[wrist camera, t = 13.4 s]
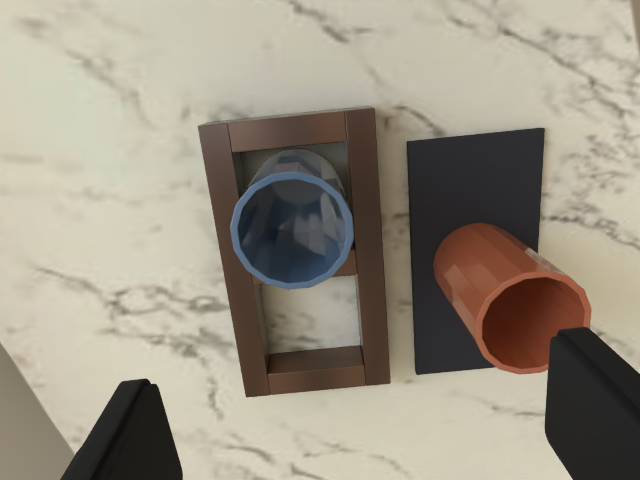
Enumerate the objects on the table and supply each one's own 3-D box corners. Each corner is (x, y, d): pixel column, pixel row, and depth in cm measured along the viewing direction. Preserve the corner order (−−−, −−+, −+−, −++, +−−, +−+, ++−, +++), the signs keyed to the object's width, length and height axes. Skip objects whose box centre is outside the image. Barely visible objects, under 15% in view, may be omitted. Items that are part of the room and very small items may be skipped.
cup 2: (432, 226, 36) (476, 277, 26) (519, 218, 35) (596, 265, 26) (433, 305, 38) (475, 379, 28) (516, 297, 38) (585, 368, 28)
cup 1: (246, 153, 34) (221, 179, 25) (337, 144, 34) (348, 166, 24) (259, 240, 36) (241, 294, 27) (345, 231, 36) (357, 283, 27)
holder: (250, 375, 40) (245, 397, 37) (207, 122, 33) (197, 125, 30) (385, 362, 40) (390, 384, 37) (369, 105, 33) (374, 107, 30)
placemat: (406, 141, 34) (408, 142, 33) (541, 127, 34) (545, 128, 33) (415, 371, 40) (416, 375, 40) (529, 360, 40) (531, 364, 40)
